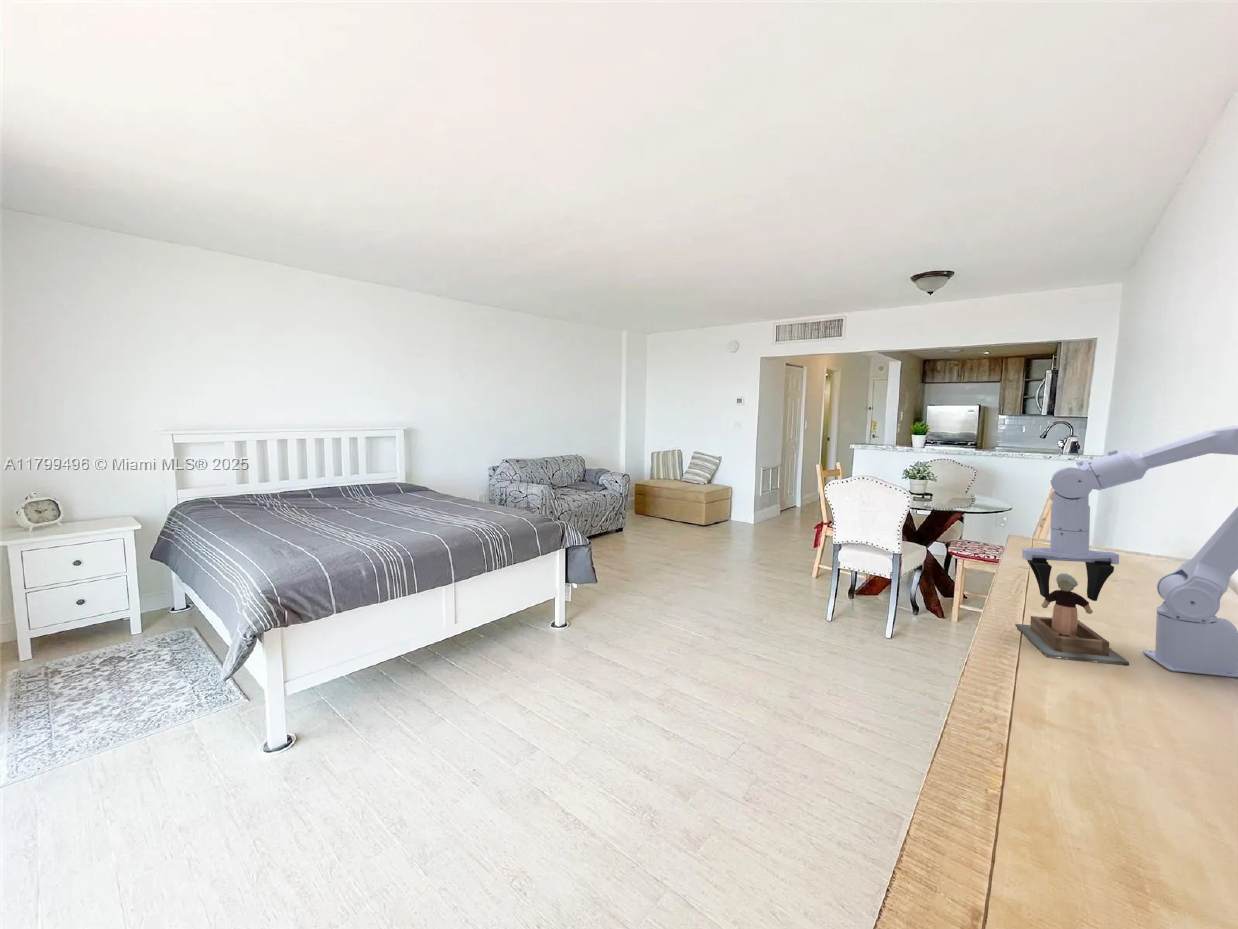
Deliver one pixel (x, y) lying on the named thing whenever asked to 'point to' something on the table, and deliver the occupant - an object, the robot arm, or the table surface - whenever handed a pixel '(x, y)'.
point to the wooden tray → (1069, 642)
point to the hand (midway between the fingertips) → (1067, 597)
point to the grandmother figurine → (1066, 606)
